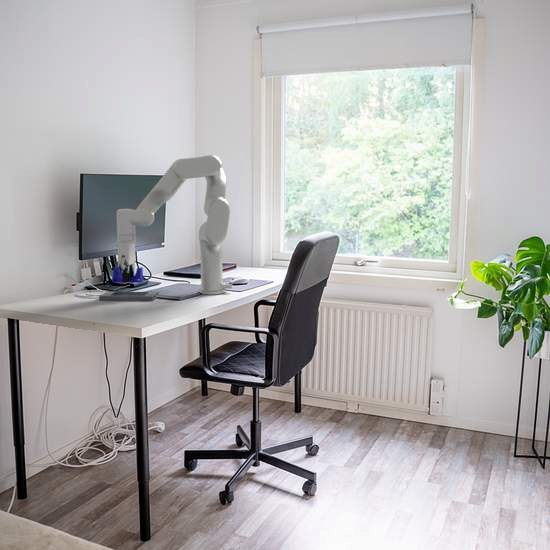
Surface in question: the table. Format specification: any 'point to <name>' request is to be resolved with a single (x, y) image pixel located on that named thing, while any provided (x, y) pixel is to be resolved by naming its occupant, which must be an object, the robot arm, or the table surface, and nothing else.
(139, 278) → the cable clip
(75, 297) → the table surface
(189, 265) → the table surface
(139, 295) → the dark grey flat slab
